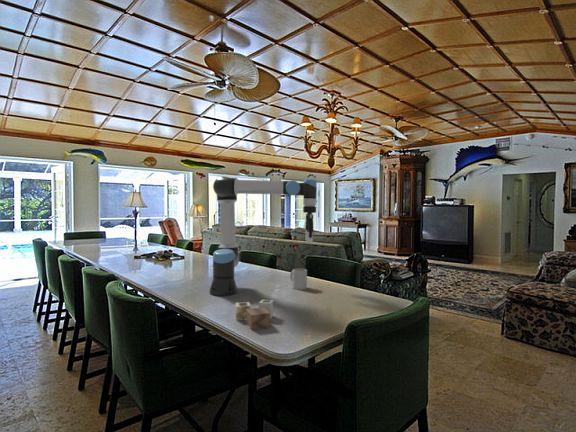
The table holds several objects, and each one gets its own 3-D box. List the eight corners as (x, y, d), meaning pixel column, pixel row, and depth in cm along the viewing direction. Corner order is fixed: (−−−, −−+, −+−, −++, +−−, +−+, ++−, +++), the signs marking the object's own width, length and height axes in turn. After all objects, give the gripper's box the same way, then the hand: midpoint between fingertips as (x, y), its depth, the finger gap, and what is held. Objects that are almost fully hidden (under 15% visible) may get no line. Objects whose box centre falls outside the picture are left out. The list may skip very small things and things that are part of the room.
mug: (309, 288, 203) (310, 269, 203) (299, 290, 197) (299, 271, 197) (295, 284, 212) (295, 267, 211) (285, 286, 206) (285, 268, 206)
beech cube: (236, 320, 145) (236, 306, 145) (235, 316, 151) (235, 302, 151) (250, 319, 146) (250, 305, 146) (249, 315, 152) (249, 301, 152)
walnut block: (250, 330, 134) (251, 315, 134) (245, 323, 142) (245, 309, 142) (270, 327, 137) (270, 313, 137) (264, 321, 145) (264, 307, 145)
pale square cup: (258, 318, 148) (258, 302, 148) (262, 315, 153) (262, 299, 152) (269, 319, 147) (270, 303, 146) (273, 316, 152) (273, 299, 151)
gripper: (318, 206, 188) (317, 244, 189) (313, 205, 213) (312, 239, 214) (305, 205, 188) (304, 244, 189) (301, 205, 213) (300, 239, 214)
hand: (308, 242), depth 201 cm, fingers open, 13 cm apart
